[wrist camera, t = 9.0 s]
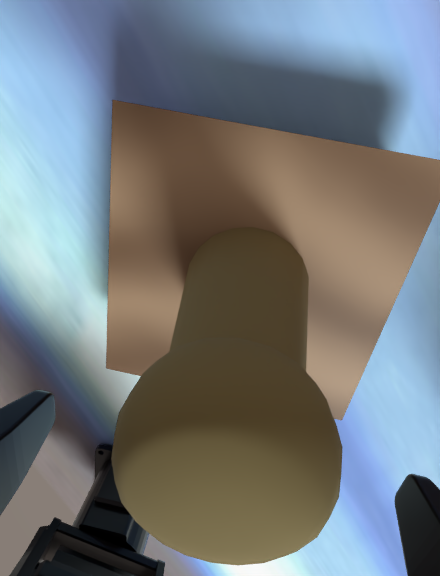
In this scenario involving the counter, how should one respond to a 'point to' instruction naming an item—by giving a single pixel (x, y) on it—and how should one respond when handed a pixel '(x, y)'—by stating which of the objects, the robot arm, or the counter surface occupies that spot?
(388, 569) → the counter surface
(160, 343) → the shelf board
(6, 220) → the counter surface
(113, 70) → the counter surface
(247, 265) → the cork
